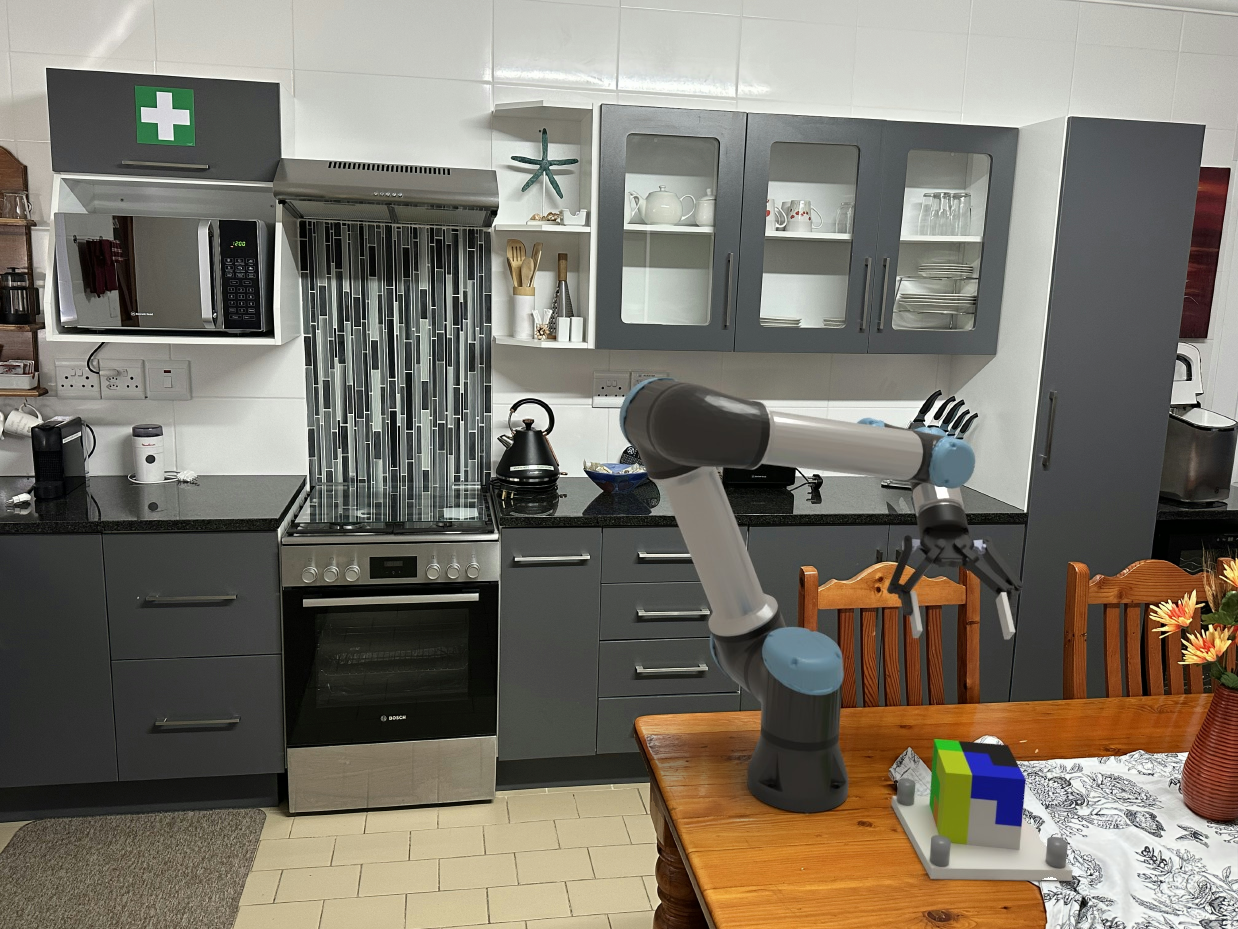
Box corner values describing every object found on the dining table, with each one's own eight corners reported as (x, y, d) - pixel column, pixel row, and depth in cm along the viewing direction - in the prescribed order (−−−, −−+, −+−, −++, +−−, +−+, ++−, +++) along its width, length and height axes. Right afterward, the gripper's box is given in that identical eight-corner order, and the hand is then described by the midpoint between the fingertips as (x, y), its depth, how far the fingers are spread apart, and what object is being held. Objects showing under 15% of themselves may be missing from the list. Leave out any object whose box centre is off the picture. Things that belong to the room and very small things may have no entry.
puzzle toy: (1019, 850, 125) (1025, 779, 123) (940, 842, 127) (946, 772, 125) (1002, 810, 135) (1007, 745, 133) (929, 804, 136) (934, 739, 135)
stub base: (930, 879, 121) (933, 846, 120) (891, 805, 139) (893, 777, 138) (1071, 881, 121) (1074, 848, 120) (1014, 807, 139) (1016, 778, 138)
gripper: (1010, 526, 156) (1039, 646, 144) (858, 524, 157) (874, 643, 145) (1025, 502, 150) (1057, 625, 138) (867, 500, 151) (884, 623, 139)
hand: (963, 635), depth 142 cm, fingers open, 13 cm apart
